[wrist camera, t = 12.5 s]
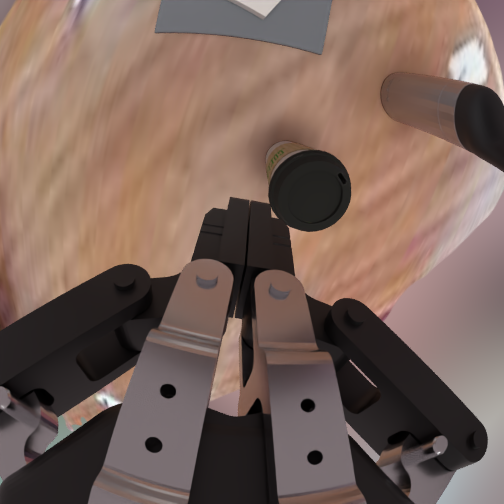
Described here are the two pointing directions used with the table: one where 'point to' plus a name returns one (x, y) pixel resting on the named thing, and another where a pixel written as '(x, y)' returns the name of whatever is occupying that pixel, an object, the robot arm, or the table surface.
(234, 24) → the mat
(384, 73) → the table surface
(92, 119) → the table surface
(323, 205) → the coffee cup
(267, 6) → the tile
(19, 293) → the table surface
